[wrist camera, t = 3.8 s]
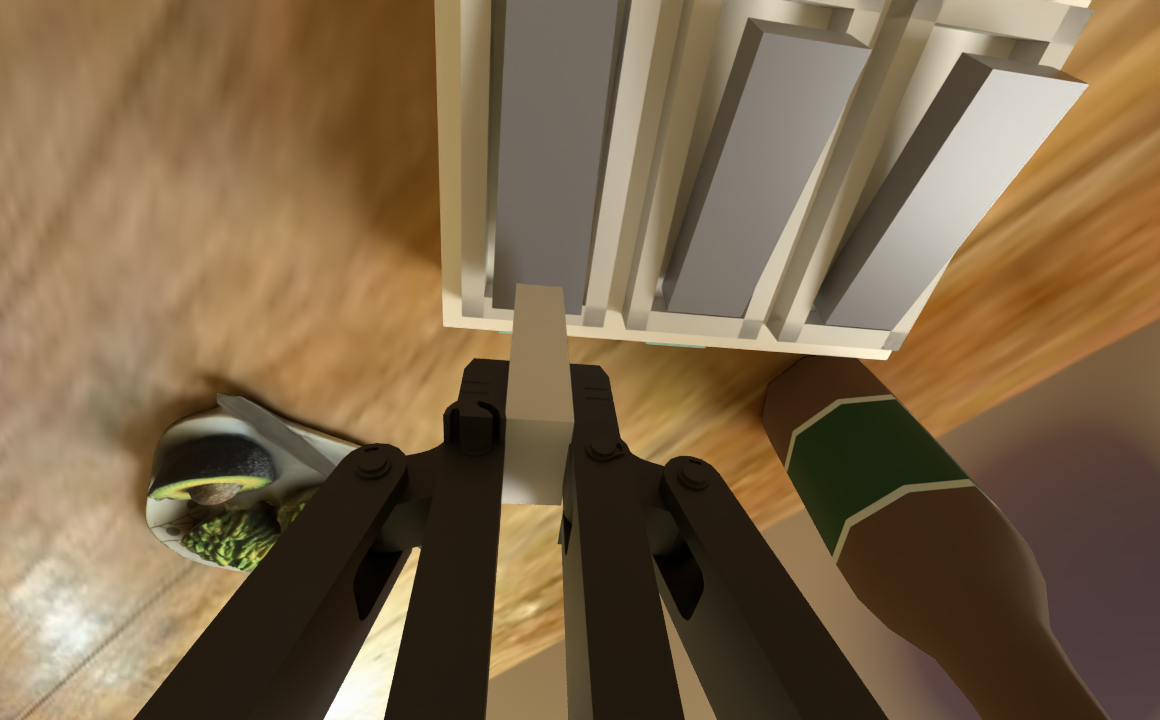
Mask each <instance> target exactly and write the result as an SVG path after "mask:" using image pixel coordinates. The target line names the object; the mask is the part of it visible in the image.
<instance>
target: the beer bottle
mask: <svg viewBox="0 0 1160 720" xmlns="http://www.w3.org/2000/svg"><path fill="white" fill-rule="evenodd" d="M762 424H763V426H764V428H765V431H766V433H767V435H768V437H769V440H770V442H771V444H772V445H773V447H774V449H775V451H776V453H777V455H778V457H779V459H780V460H781V462H782V464H783V466H784V468H785V470H786V472H787V474H788V475H789V477H790V479H791V481H792V483H793V485H794V487H795V489H796V490H797V492H798V494H799V496H800V498H801V500H802V502H803V503H804V505H805V507H806V509H807V511H808V513H809V515H810V517H811V518H812V520H813V522H814V524H815V526H816V528H817V530H818V531H819V533H820V535H821V537H822V539H823V541H824V543H825V545H826V546H827V548H828V550H829V552H830V554H831V556H832V558H833V560H834V561H835V563H836V565H837V567H838V568H839V570H840V571H841V573H842V574H843V576H844V578H845V579H846V581H847V582H848V584H849V585H850V587H851V588H852V590H853V592H854V593H855V595H856V596H857V598H858V599H859V600H860V601H861V602H862V603H863V604H864V605H865V606H866V607H867V608H868V609H869V610H870V611H871V612H872V613H873V614H874V615H875V616H876V617H877V618H878V619H880V620H881V621H882V622H883V623H884V624H885V625H886V626H887V627H888V628H889V629H890V630H892V631H893V632H895V633H897V634H898V635H899V636H901V637H903V638H904V639H906V640H907V641H909V642H910V643H912V644H913V645H915V646H916V647H918V648H919V649H921V650H922V651H924V652H925V653H927V654H928V655H930V656H931V657H933V658H934V659H936V661H937V662H938V663H939V664H940V665H941V667H942V668H943V669H944V670H945V671H946V672H947V674H948V675H949V676H950V678H951V679H952V680H953V681H954V682H955V684H956V685H957V686H958V687H959V688H960V690H961V691H962V692H963V693H964V694H965V696H966V697H967V698H968V699H969V701H970V702H971V703H972V705H973V706H974V708H975V709H976V711H977V712H978V714H979V715H980V716H981V718H982V720H1111V719H1110V717H1109V716H1108V715H1107V713H1106V712H1105V711H1104V709H1103V708H1102V707H1101V705H1100V704H1099V703H1098V701H1097V700H1096V698H1095V697H1094V696H1093V694H1092V693H1091V692H1090V690H1089V689H1088V688H1087V686H1086V685H1085V684H1084V682H1083V681H1082V680H1081V678H1080V677H1079V675H1078V674H1077V673H1076V671H1075V669H1074V668H1073V666H1072V664H1071V663H1070V661H1069V659H1068V658H1067V656H1066V654H1065V653H1064V651H1063V649H1062V648H1061V646H1060V644H1059V643H1058V641H1057V639H1056V638H1055V636H1054V634H1053V633H1052V631H1051V629H1050V624H1049V613H1048V602H1047V593H1046V583H1045V581H1044V579H1043V577H1042V574H1041V572H1040V569H1039V567H1038V564H1037V562H1036V560H1035V558H1034V555H1033V553H1032V550H1031V548H1030V546H1029V545H1028V544H1027V543H1026V541H1025V540H1024V539H1023V537H1022V536H1021V535H1020V534H1019V532H1018V531H1017V530H1016V529H1015V527H1014V526H1013V525H1012V524H1011V522H1010V521H1009V520H1008V519H1007V517H1006V516H1005V515H1004V514H1003V512H1002V511H1001V510H1000V509H999V508H998V507H997V506H996V505H995V504H994V503H993V502H992V500H991V499H990V498H989V497H988V496H987V495H986V494H985V493H984V492H983V491H982V490H981V489H980V487H979V486H978V485H977V484H976V483H975V482H974V481H973V480H972V479H971V478H970V477H969V475H968V474H967V473H966V472H965V471H964V470H963V469H962V468H961V467H960V466H959V465H958V464H957V462H956V461H955V460H954V459H953V458H952V457H951V456H950V455H949V454H948V453H947V452H946V451H945V449H944V448H943V447H942V446H941V445H940V444H939V443H938V442H937V441H936V440H935V439H934V438H933V436H932V435H931V434H930V433H929V432H928V431H927V430H926V429H925V428H924V427H923V426H922V425H921V423H920V422H919V421H918V420H917V419H916V418H915V417H914V416H913V415H912V414H911V413H910V412H909V410H908V409H907V408H906V407H905V406H904V405H903V404H902V403H901V402H900V401H899V400H898V399H897V397H896V396H895V395H894V394H893V393H892V392H891V391H890V390H889V389H888V388H887V387H886V386H885V385H884V384H883V383H882V382H881V381H880V380H879V379H878V378H877V377H876V376H875V375H874V374H873V373H872V372H871V371H870V370H868V369H867V368H866V367H865V366H864V365H863V364H862V363H861V362H860V361H859V360H858V359H857V358H853V357H840V356H827V355H822V356H811V357H803V358H802V359H801V360H799V361H798V362H797V363H796V364H794V365H793V366H792V367H790V368H789V369H788V370H787V371H785V372H784V373H783V374H781V375H780V376H779V377H778V378H776V379H775V380H774V381H772V382H771V383H770V384H768V389H767V394H766V400H765V405H764V410H763V416H762Z"/></svg>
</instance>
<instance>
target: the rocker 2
mask: <svg viewBox="0 0 1160 720" xmlns="http://www.w3.org/2000/svg"><path fill="white" fill-rule="evenodd" d="M871 51H872V49H870V48H869V47H868V46H866V45H865V44H863V43H862V42H860V41H859V40H857V39H856V38H855V37H853V36H852V35H850V34H848V33H842V32H836V31H830V30H823V29H817V28H811V27H805V26H799V25H793V24H786V23H780V22H774V21H768V20H762V19H756V18H750V17H748V19H747V22H746V25H745V29H744V32H743V35H742V38H741V41H740V44H739V47H738V50H737V53H736V56H735V60H734V63H733V66H732V69H731V72H730V75H729V78H728V81H727V84H726V88H725V91H724V94H723V97H722V100H721V103H720V106H719V109H718V112H717V116H716V119H715V122H714V125H713V128H712V131H711V134H710V137H709V140H708V144H707V147H706V150H705V153H704V156H703V159H702V162H701V165H700V168H699V171H698V175H697V178H696V181H695V184H694V187H693V190H692V193H691V196H690V199H689V203H688V206H687V209H686V212H685V215H684V218H683V221H682V224H681V227H680V231H679V234H678V237H677V240H676V243H675V246H674V249H673V252H672V255H671V259H670V262H669V265H668V268H667V271H666V274H665V277H664V280H663V283H662V286H661V287H662V292H663V296H664V300H665V304H666V309H667V311H671V312H683V313H695V314H707V315H719V316H731V317H741V316H742V314H743V312H744V310H745V308H746V306H747V304H748V302H749V299H750V297H751V295H752V293H753V291H754V289H755V287H756V285H757V283H758V281H759V279H760V277H761V275H762V273H763V271H764V269H765V267H766V265H767V263H768V261H769V259H770V257H771V255H772V253H773V251H774V249H775V247H776V245H777V243H778V241H779V238H780V236H781V234H782V232H783V230H784V228H785V226H786V224H787V222H788V220H789V218H790V216H791V214H792V212H793V210H794V208H795V206H796V204H797V202H798V200H799V198H800V196H801V194H802V192H803V190H804V188H805V186H806V184H807V182H808V179H809V177H810V175H811V173H812V171H813V169H814V167H815V165H816V163H817V161H818V159H819V157H820V155H821V153H822V151H823V149H824V147H825V145H826V143H827V141H828V139H829V137H830V135H831V133H832V131H833V129H834V127H835V125H836V123H837V120H838V118H839V116H840V114H841V112H842V110H843V108H844V106H845V104H846V102H847V100H848V98H849V96H850V94H851V92H852V90H853V88H854V86H855V84H856V82H857V80H858V78H859V76H860V74H861V72H862V70H863V68H864V66H865V64H866V61H867V59H868V57H869V55H870V53H871Z"/></svg>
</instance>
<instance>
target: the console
mask: <svg viewBox="0 0 1160 720" xmlns="http://www.w3.org/2000/svg"><path fill="white" fill-rule="evenodd" d="M1090 2H1091V0H618V8H617V17H616V25H615V34H614V42H613V50H612V59H611V67H610V76H609V84H608V93H607V101H606V110H605V118H604V127H603V135H602V144H601V152H600V161H599V169H598V178H597V186H596V194H595V203H594V211H593V220H592V228H591V237H590V245H589V254H588V262H587V271H586V279H585V288H584V296H583V305H582V313H581V315H569V314H565V318H566V329H567V336H576V337H589V338H603V339H616V340H629V341H642V342H645V344H652V345H665V346H678V347H692V348H705V347H706V346H708V347H721V348H734V349H747V350H761V351H774V352H787V353H800V354H813V355H827V356H840V357H853V358H866V359H879V360H887V359H888V357H889V355H890V353H891V352H892V351H898V350H899V349H900V347H901V345H902V343H903V342H904V340H905V338H906V336H907V335H908V333H909V331H910V329H911V328H912V326H913V324H914V323H915V321H916V319H917V317H918V316H919V314H920V312H921V310H922V309H923V307H924V305H925V303H926V302H927V300H928V298H929V297H930V295H931V293H932V291H933V290H934V288H935V286H936V284H937V283H938V281H939V279H940V277H941V276H942V274H943V272H944V271H945V269H946V267H947V265H948V264H949V262H950V260H951V258H952V257H953V255H954V254H953V255H952V256H951V258H950V259H949V260H948V261H947V263H946V264H945V265H944V266H943V268H942V269H941V270H940V271H939V273H938V274H937V275H936V276H935V278H934V279H933V280H932V281H931V283H930V284H929V285H928V286H927V288H926V289H925V290H924V291H923V293H922V294H921V295H920V296H919V298H918V299H917V300H916V301H915V303H914V304H913V305H912V306H911V308H910V309H909V310H908V311H907V313H906V314H905V315H904V316H903V318H902V319H901V320H900V321H899V323H898V324H897V325H896V326H895V328H894V329H893V330H885V329H873V328H861V327H850V326H838V325H826V324H824V322H823V320H822V319H821V317H820V315H819V313H818V311H817V309H816V308H815V306H814V304H813V302H814V300H815V298H816V296H817V293H818V291H819V289H820V286H821V284H822V282H823V281H824V279H825V278H826V276H827V274H828V273H829V271H830V269H831V268H832V266H833V264H834V263H835V261H836V259H837V258H838V256H839V254H840V253H841V251H842V250H843V248H844V246H845V245H846V243H847V241H848V240H849V238H850V236H851V235H852V233H853V231H854V230H855V228H856V226H857V225H858V223H859V222H860V220H861V218H862V217H863V215H864V213H865V212H866V210H867V208H868V207H869V205H870V203H871V202H872V200H873V198H874V197H875V195H876V194H877V192H878V190H879V189H880V187H881V185H882V184H883V182H884V180H885V179H886V177H887V175H888V174H889V172H890V170H891V169H892V167H893V166H894V164H895V162H896V161H897V159H898V157H899V156H900V154H901V152H902V151H903V149H904V147H905V146H906V144H907V142H908V141H909V139H910V138H911V136H912V134H913V133H914V131H915V129H916V128H917V126H918V124H919V123H920V121H921V119H922V118H923V116H924V114H925V113H926V111H927V109H928V108H929V106H930V105H931V103H932V101H933V100H934V98H935V96H936V95H937V93H938V91H939V90H940V88H941V86H942V85H943V83H944V81H945V80H946V78H947V77H948V75H949V73H950V72H951V70H952V68H953V67H954V65H955V63H956V62H957V60H958V58H959V57H960V55H961V53H962V52H965V53H971V54H977V55H983V56H989V57H995V58H1002V59H1008V60H1014V61H1020V62H1026V63H1032V64H1039V65H1045V66H1051V67H1054V68H1056V69H1058V70H1060V69H1061V68H1062V66H1063V64H1064V63H1065V61H1066V59H1067V57H1068V56H1069V54H1070V52H1071V50H1072V49H1073V47H1074V45H1075V44H1076V42H1077V40H1078V38H1079V37H1080V35H1081V33H1082V31H1083V30H1084V28H1085V26H1086V24H1087V23H1088V21H1089V19H1090V18H1091V16H1092V14H1093V12H1094V11H1095V9H1089V8H1087V7H1088V5H1089V4H1090ZM434 4H435V40H436V77H437V114H438V150H439V187H440V224H441V261H442V297H443V326H445V327H458V328H471V329H484V330H497V331H499V333H506V334H512V330H513V318H514V310H507V309H495V308H492V296H493V275H494V255H495V234H496V213H497V192H498V172H499V151H500V130H501V110H502V89H503V68H504V47H505V27H506V6H507V0H434ZM748 17H750V18H756V19H762V20H768V21H774V22H780V23H786V24H793V25H799V26H805V27H811V28H817V29H823V30H830V31H836V32H842V33H848V34H850V35H852V36H853V37H855V38H856V39H857V40H859V41H860V42H862V43H863V44H865V45H866V46H868V47H869V48H870V49H872V51H871V53H870V55H869V57H868V59H867V61H866V64H865V66H864V68H863V70H862V72H861V74H860V76H859V78H858V80H857V82H856V84H855V86H854V88H853V90H852V92H851V94H850V96H849V98H848V100H847V102H846V104H845V106H844V108H843V110H842V112H841V114H840V116H839V118H838V120H837V123H836V125H835V127H834V129H833V131H832V133H831V135H830V137H829V139H828V141H827V143H826V145H825V147H824V149H823V151H822V153H821V155H820V157H819V159H818V161H817V163H816V165H815V167H814V169H813V171H812V173H811V175H810V177H809V179H808V182H807V184H806V186H805V188H804V190H803V192H802V194H801V196H800V198H799V200H798V202H797V204H796V206H795V208H794V210H793V212H792V214H791V216H790V218H789V220H788V222H787V224H786V226H785V228H784V230H783V232H782V234H781V236H780V238H779V241H778V243H777V245H776V247H775V249H774V251H773V253H772V255H771V257H770V259H769V261H768V263H767V265H766V267H765V269H764V271H763V273H762V275H761V277H760V279H759V281H758V283H757V285H756V287H755V289H754V291H753V293H752V295H751V297H750V299H749V302H748V304H747V306H746V308H745V310H744V312H743V314H742V316H741V317H731V316H719V315H707V314H695V313H683V312H671V311H667V309H666V304H665V300H664V296H663V292H662V287H661V286H662V283H663V280H664V277H665V274H666V271H667V268H668V265H669V262H670V259H671V255H672V252H673V249H674V246H675V243H676V240H677V237H678V234H679V231H680V227H681V224H682V221H683V218H684V215H685V212H686V209H687V206H688V203H689V199H690V196H691V193H692V190H693V187H694V184H695V181H696V178H697V175H698V171H699V168H700V165H701V162H702V159H703V156H704V153H705V150H706V147H707V144H708V140H709V137H710V134H711V131H712V128H713V125H714V122H715V119H716V116H717V112H718V109H719V106H720V103H721V100H722V97H723V94H724V91H725V88H726V84H727V81H728V78H729V75H730V72H731V69H732V66H733V63H734V60H735V56H736V53H737V50H738V47H739V44H740V41H741V38H742V35H743V32H744V29H745V25H746V22H747V19H748Z"/></svg>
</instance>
